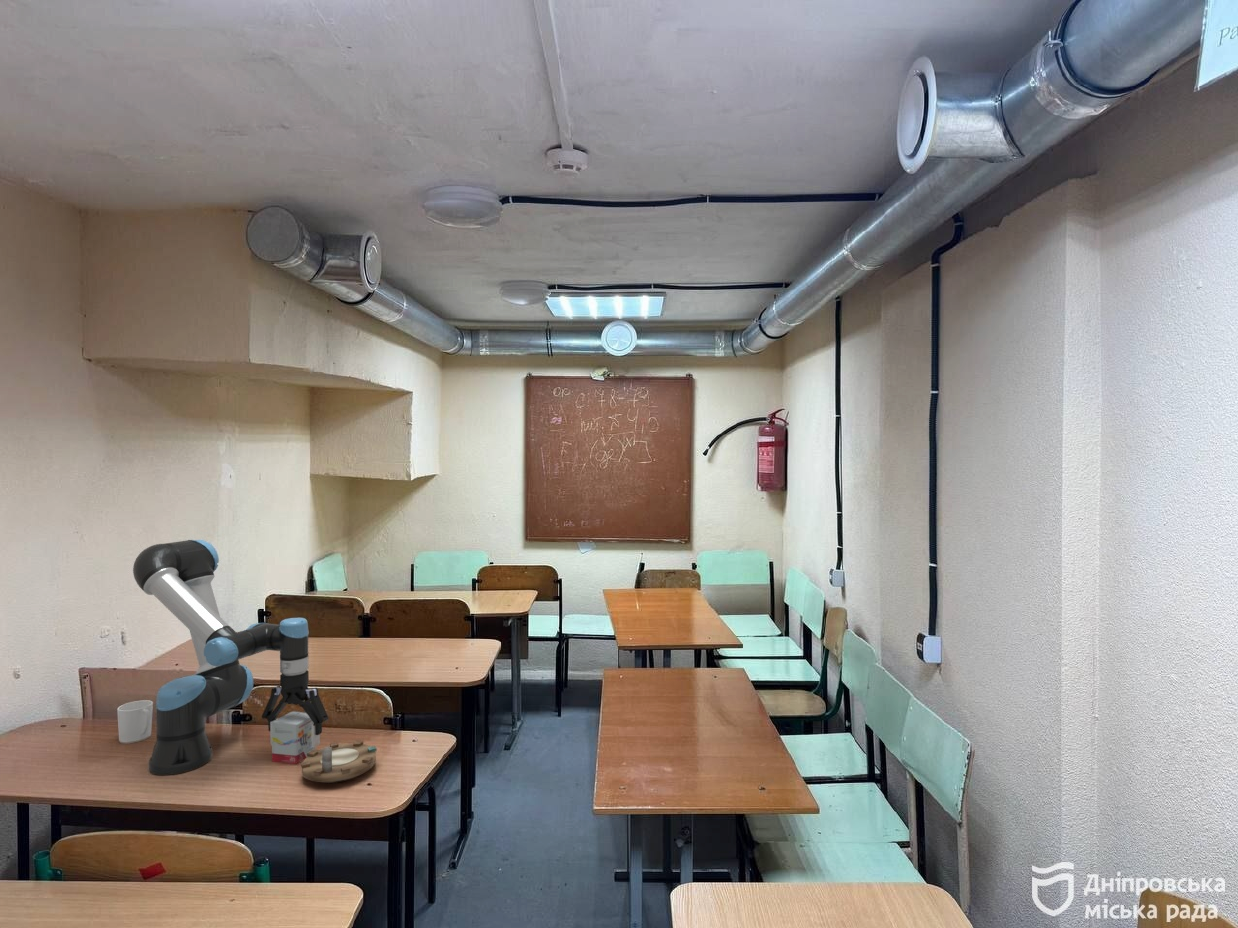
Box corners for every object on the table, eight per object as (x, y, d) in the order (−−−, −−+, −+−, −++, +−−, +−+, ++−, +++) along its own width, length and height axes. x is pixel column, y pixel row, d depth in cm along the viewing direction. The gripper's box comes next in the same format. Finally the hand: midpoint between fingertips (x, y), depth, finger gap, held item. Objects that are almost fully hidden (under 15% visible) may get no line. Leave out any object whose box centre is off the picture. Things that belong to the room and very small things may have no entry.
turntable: (296, 760, 183) (297, 732, 183) (368, 744, 194) (368, 717, 194) (306, 789, 167) (306, 758, 167) (383, 770, 178) (383, 741, 178)
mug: (110, 741, 199) (110, 708, 199) (141, 730, 208) (141, 698, 208) (133, 747, 195) (133, 713, 195) (163, 736, 203) (163, 703, 203)
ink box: (296, 764, 185) (296, 723, 185) (270, 761, 187) (270, 721, 187) (316, 751, 193) (316, 712, 193) (291, 748, 195) (291, 709, 195)
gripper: (248, 673, 188) (248, 745, 188) (324, 678, 184) (325, 752, 184) (266, 665, 196) (267, 735, 196) (340, 669, 191) (341, 741, 191)
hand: (295, 743), depth 190 cm, fingers open, 13 cm apart
